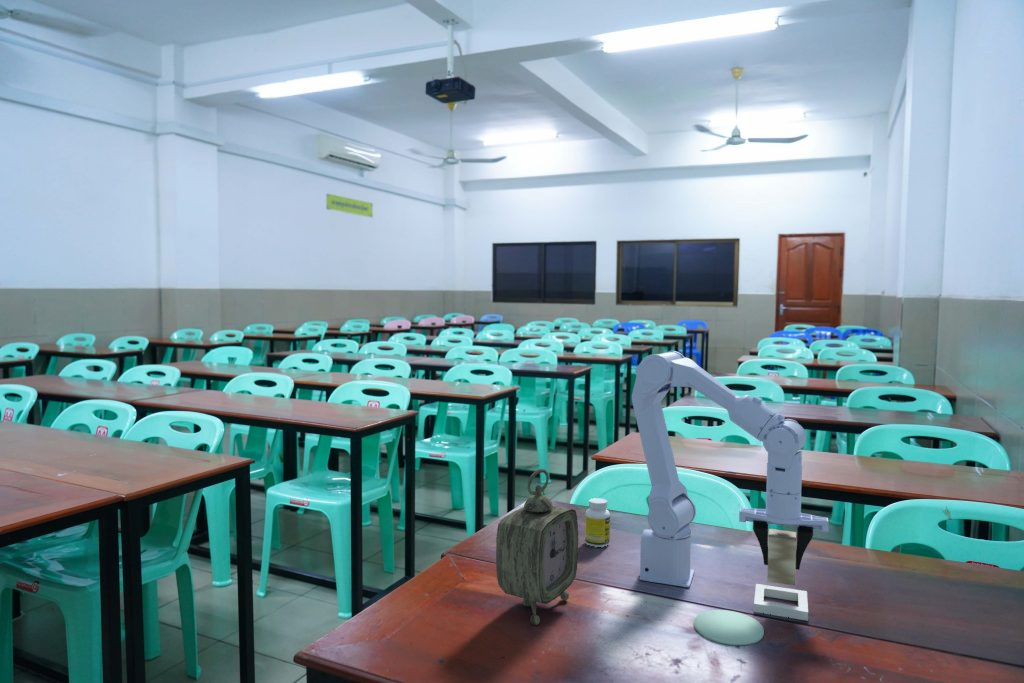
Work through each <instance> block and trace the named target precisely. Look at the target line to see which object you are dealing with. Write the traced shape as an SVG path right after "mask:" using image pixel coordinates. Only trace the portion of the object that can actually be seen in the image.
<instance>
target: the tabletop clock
mask: <svg viewBox="0 0 1024 683" xmlns="http://www.w3.org/2000/svg"><path fill="white" fill-rule="evenodd" d="M542 473H543V474H544V475H545V482H544V484H543V485H542V486H541V485H539V484H538V485H535V490H531V484H532V481H533V479H534V478H535V477H536V476H537V475H539V474H542ZM549 479H550V476H549V473H548V471H547V469H545V468H539V469H537V470H535V471H534V472H532V474H531V475H530V476H529V478H528V481H527V491H528V494H530V496H529V497H527V499H526V501H525V502H524V504H523V507H520V508H519V509H516V510H514V511H512V512H510V513H509V514H507V515H506V516H505V517H502V519H500V521H499V523H498V524H497V529H496V540H495V542H496V543H495V544H496V545H495V546H496V547H495V564H496V566H495V567H496V579H497V580H496V581H497V584H498V587H500V589H501V590H502V591H503V593H504V594H506V595H510V596H513V597H517V598H521V599H522V603H523V606H525V607H527V606H528V607H531V611H532V615H531V617H530V619H529V620H530V623H531V624H532V625H533V626H537V625H539V624H540V622H541V618H540V616H539V615H538V614H537V603H538V604H543V605H544V604H549V603H551V602H552V601H554V600H556V598H558V597H560V599H561V600H562V601H568V600H569V599H570V594H569V592H568V591H566V590H567V589H568V588H569V587H570V586H571V585H572V584H573V582H574V580H575V579H576V576H577V571H578V570H577V569H578V559H579V525H578V517H577V516H578V515H577V511H576V510H575V509H573V508H567V507H561V506H558V505H557V506H556V505H554V504H553V502H552V500H551V499H550V498H549V496H547V495H546V494H545V495H543V494H542V493H543V491H544V492H545V489H546V488H547V487H548V484H549V481H550V480H549Z"/></svg>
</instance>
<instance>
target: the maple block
mask: <svg viewBox="0 0 1024 683" xmlns="http://www.w3.org/2000/svg"><path fill="white" fill-rule="evenodd" d="M796 548H797V531H790V530H782V529H775V528H768V565H767V578H766V579H767V583H774V584H775V583H776V584H782V585H789V586H796V570H797V569H796Z"/></svg>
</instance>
